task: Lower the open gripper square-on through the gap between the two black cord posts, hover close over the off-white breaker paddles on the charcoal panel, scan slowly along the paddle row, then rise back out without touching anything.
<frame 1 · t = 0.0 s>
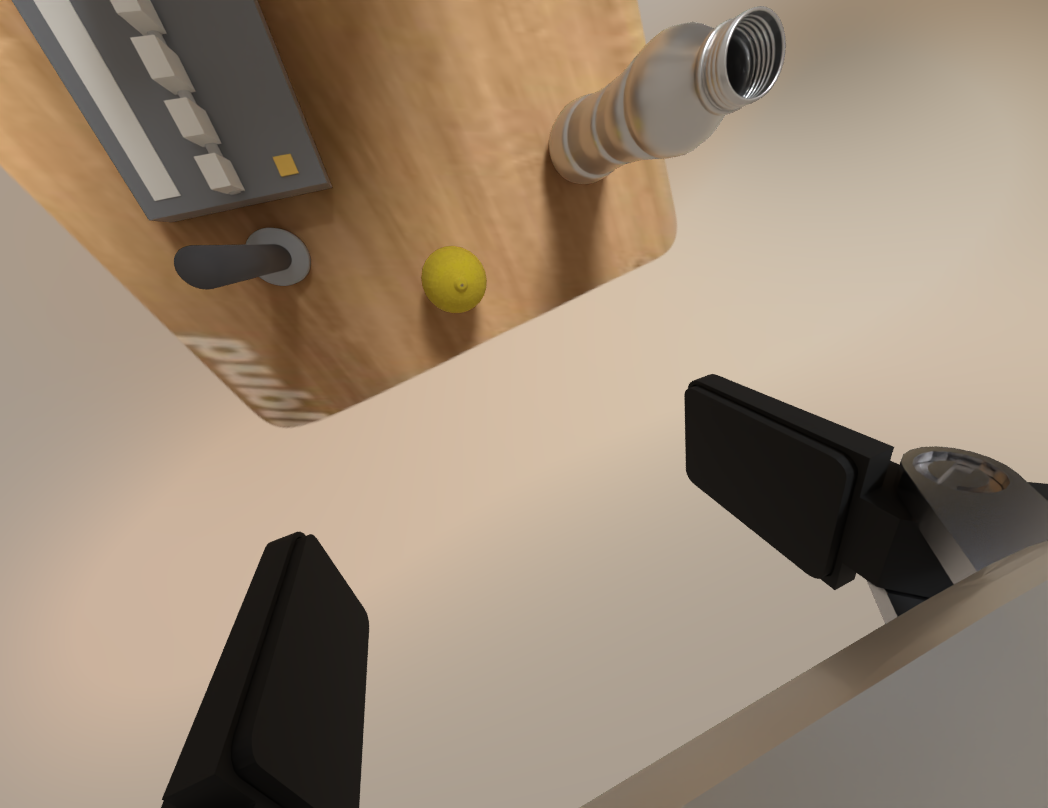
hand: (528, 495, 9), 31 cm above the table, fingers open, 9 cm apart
breaker panel: (200, 94, 26), on the table
plastic bottle: (573, 149, 35), on the table
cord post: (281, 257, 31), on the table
lemon: (447, 276, 36), on the table
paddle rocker: (165, 67, 22), point 5 cm above the table, hinge at 0.0°
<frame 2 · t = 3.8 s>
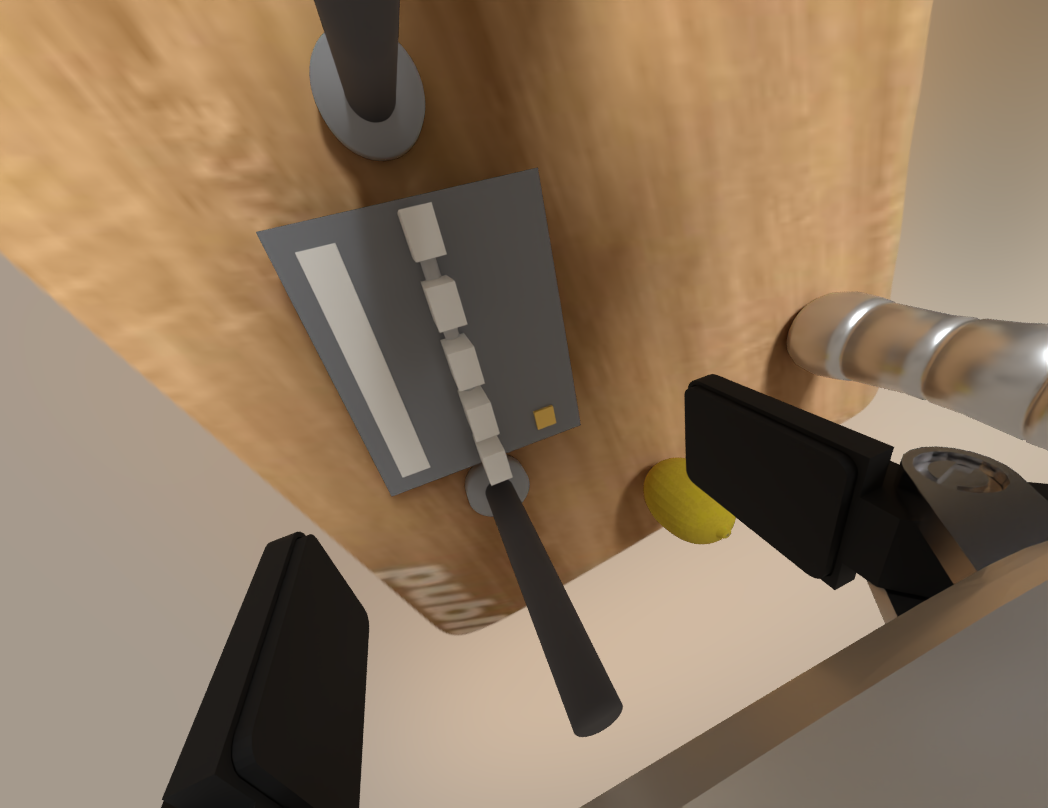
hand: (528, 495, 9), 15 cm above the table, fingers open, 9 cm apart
breaker panel: (448, 337, 21), on the table
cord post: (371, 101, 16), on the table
plastic bottle: (803, 327, 31), on the table
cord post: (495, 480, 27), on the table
lemon: (651, 467, 32), on the table
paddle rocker: (461, 360, 17), point 5 cm above the table, hinge at 0.0°
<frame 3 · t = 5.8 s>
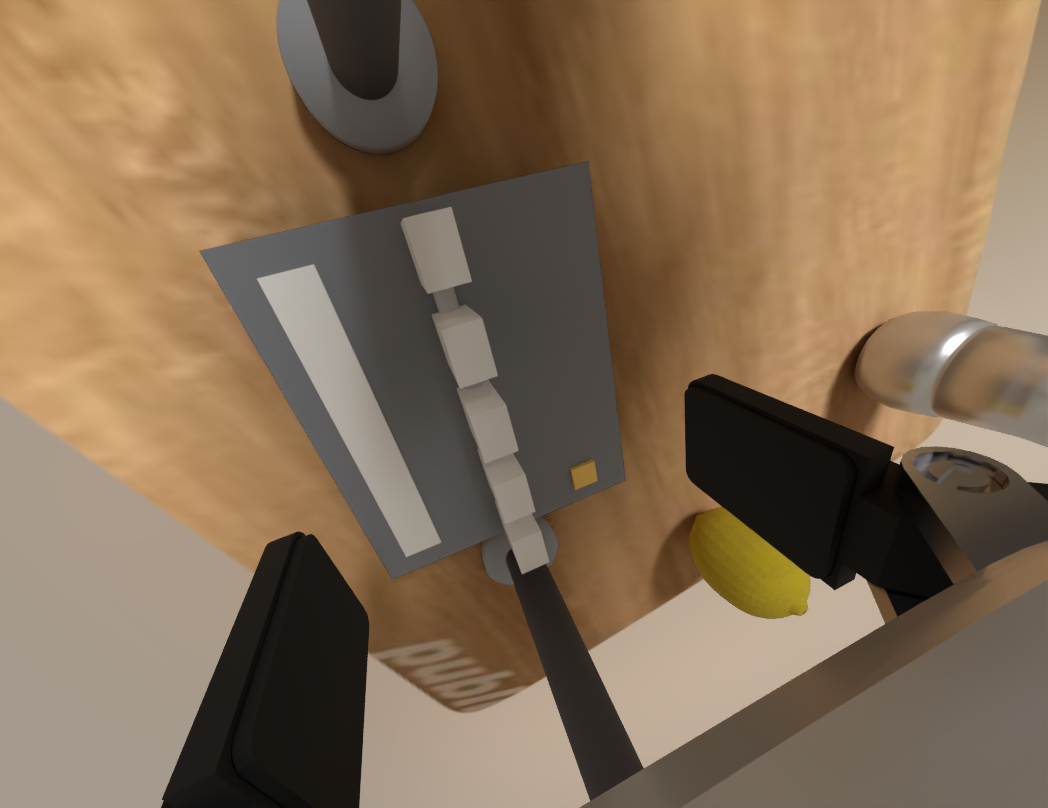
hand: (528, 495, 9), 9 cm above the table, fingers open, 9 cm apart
breaker panel: (463, 376, 17), on the table
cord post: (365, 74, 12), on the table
plastic bottle: (871, 351, 26), on the table
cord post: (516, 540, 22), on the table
lemon: (695, 514, 27), on the table
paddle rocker: (485, 417, 13), point 5 cm above the table, hinge at 0.0°
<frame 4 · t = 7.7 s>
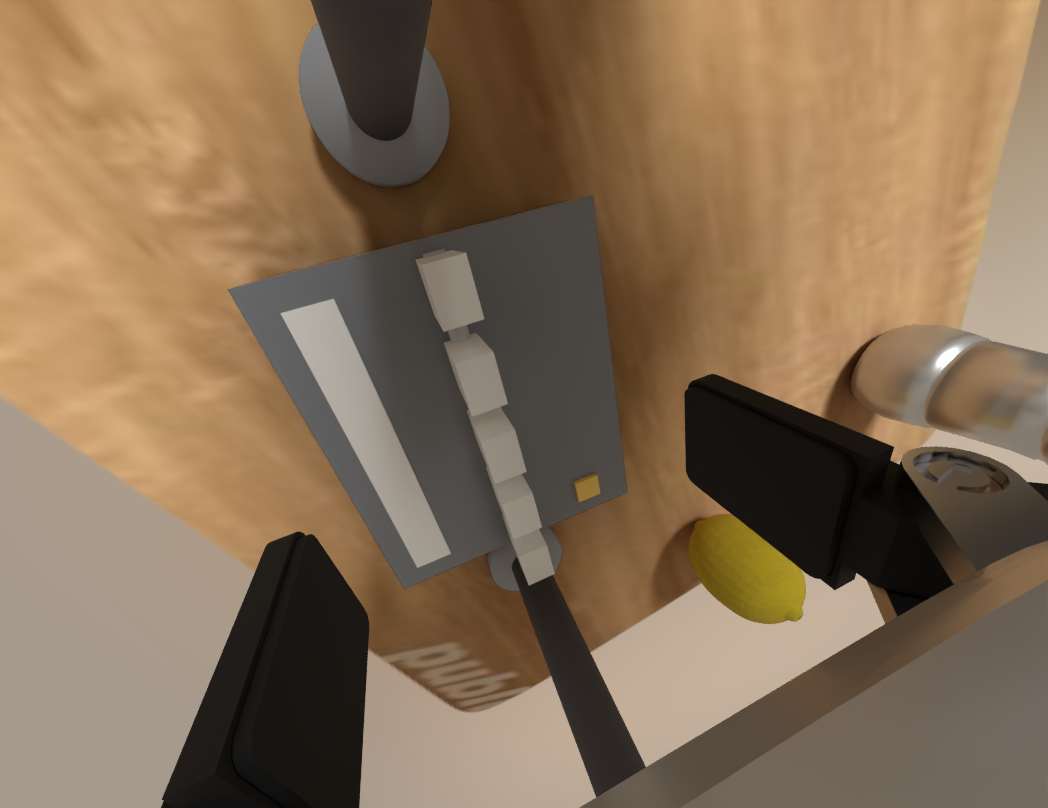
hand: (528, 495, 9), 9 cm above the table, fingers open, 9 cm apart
breaker panel: (471, 393, 18), on the table
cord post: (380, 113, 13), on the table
plastic bottle: (867, 362, 27), on the table
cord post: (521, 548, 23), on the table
lemon: (695, 521, 28), on the table
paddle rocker: (494, 438, 14), point 5 cm above the table, hinge at 0.0°
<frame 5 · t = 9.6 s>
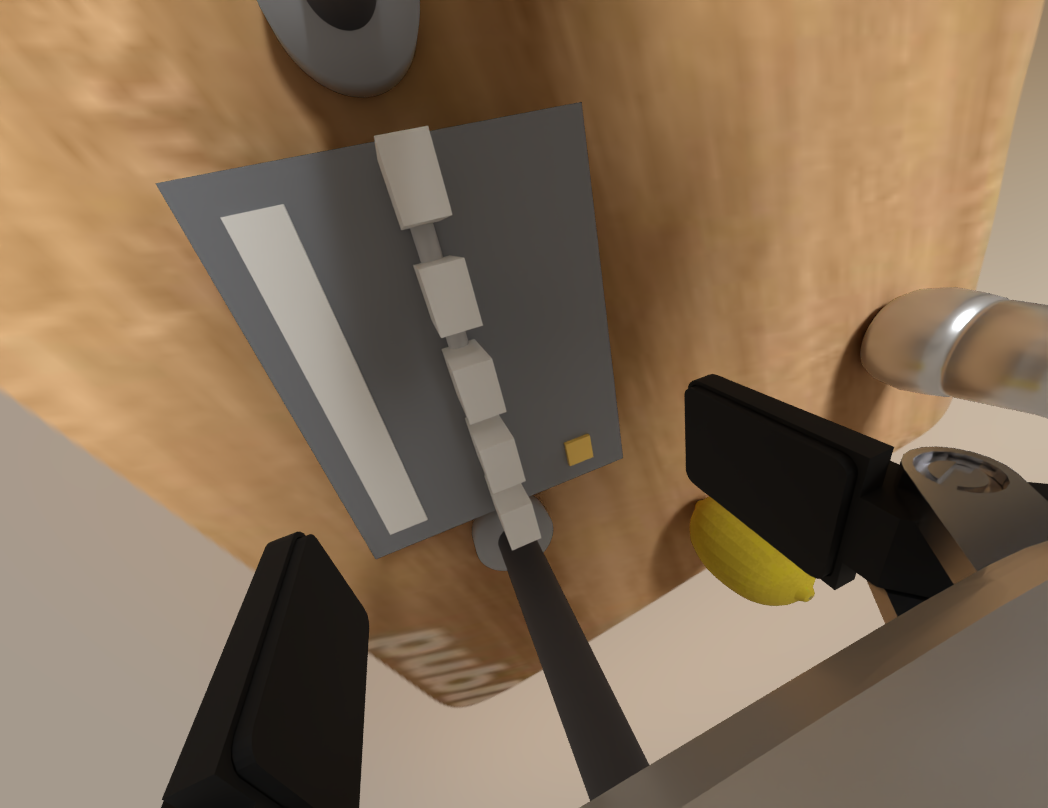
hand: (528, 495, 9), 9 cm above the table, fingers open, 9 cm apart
breaker panel: (451, 345, 16), on the table
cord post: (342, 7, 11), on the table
plastic bottle: (877, 332, 25), on the table
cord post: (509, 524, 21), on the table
lemon: (696, 501, 26), on the table
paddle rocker: (471, 378, 12), point 5 cm above the table, hinge at 0.0°
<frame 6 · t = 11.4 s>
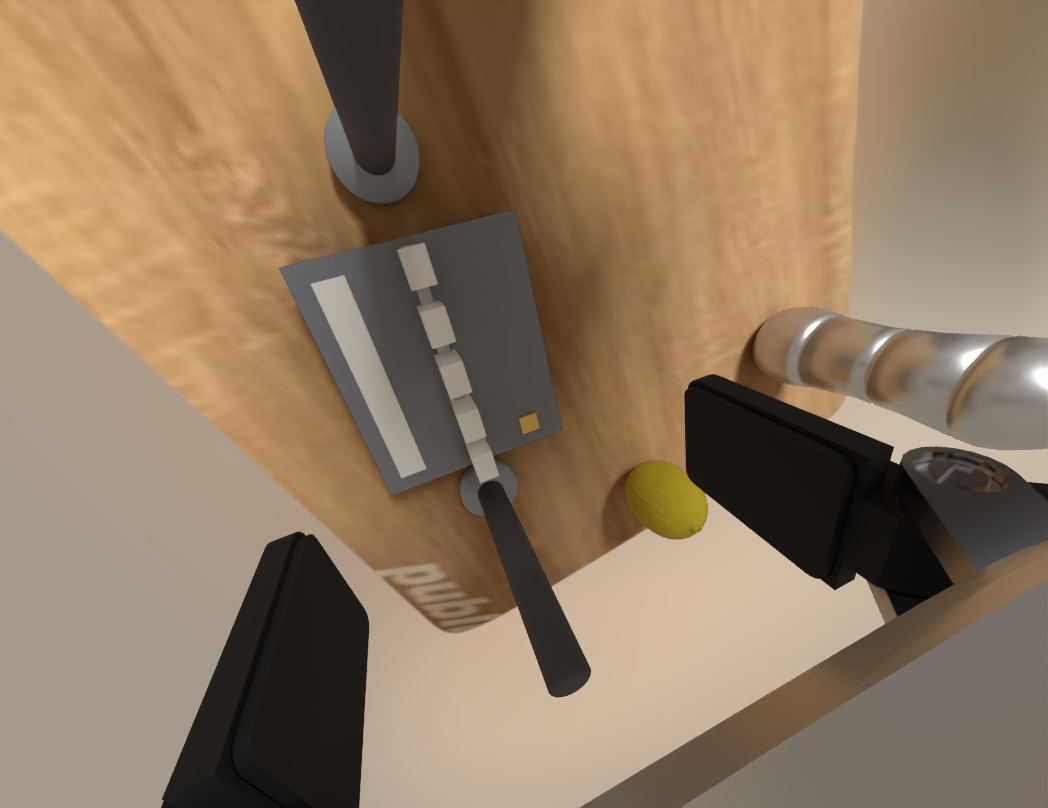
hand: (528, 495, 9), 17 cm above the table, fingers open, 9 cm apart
breaker panel: (442, 352, 24), on the table
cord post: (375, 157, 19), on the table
plastic bottle: (768, 339, 33), on the table
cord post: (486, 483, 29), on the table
lemon: (633, 470, 34), on the table
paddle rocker: (452, 372, 20), point 5 cm above the table, hinge at 0.0°
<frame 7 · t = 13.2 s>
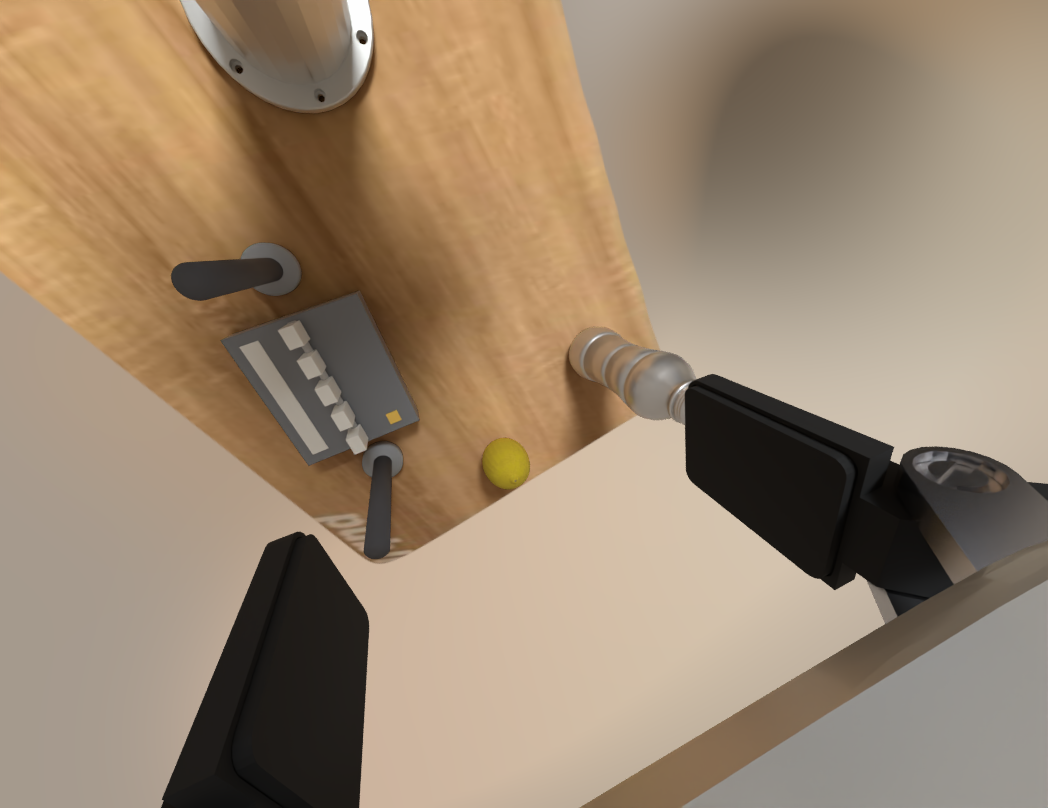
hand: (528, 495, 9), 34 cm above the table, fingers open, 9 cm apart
breaker panel: (335, 375, 39), on the table
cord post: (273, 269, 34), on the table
plastic bottle: (586, 348, 47), on the table
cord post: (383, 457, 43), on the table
lemon: (497, 446, 48), on the table
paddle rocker: (328, 390, 34), point 5 cm above the table, hinge at 0.0°
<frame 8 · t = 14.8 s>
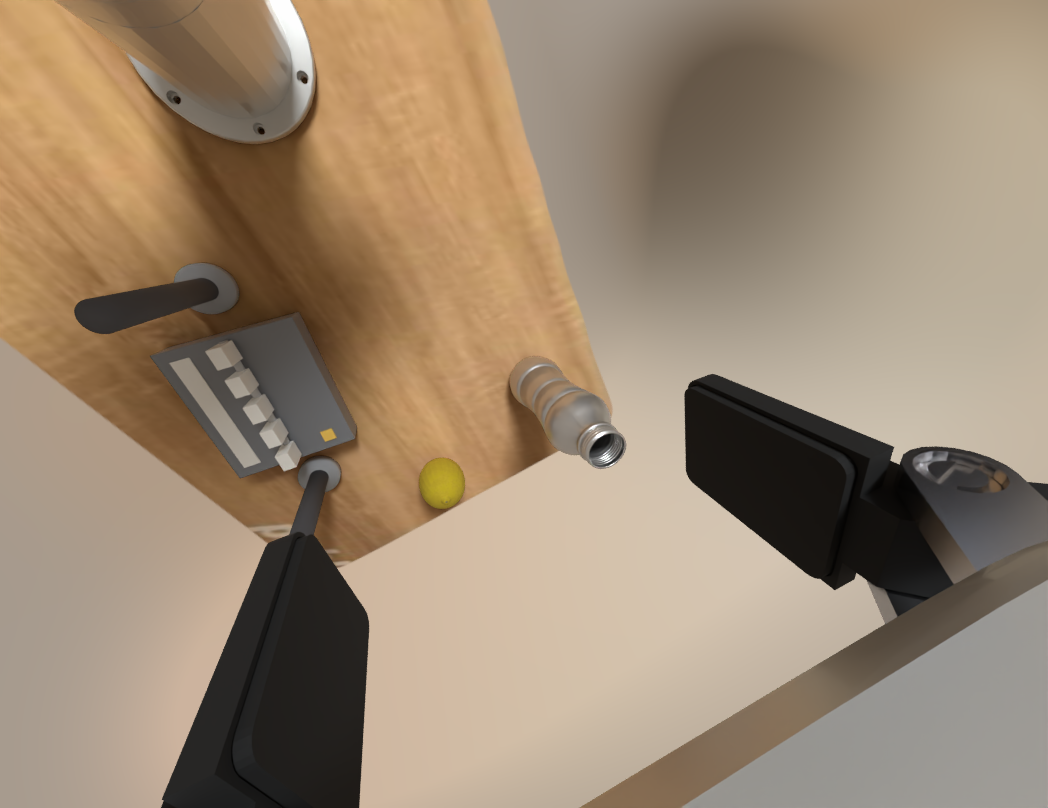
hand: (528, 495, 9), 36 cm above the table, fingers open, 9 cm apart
breaker panel: (272, 391, 39), on the table
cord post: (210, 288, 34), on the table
plastic bottle: (529, 375, 49), on the table
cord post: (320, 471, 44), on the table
lemon: (438, 464, 49), on the table
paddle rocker: (259, 408, 35), point 5 cm above the table, hinge at 0.0°
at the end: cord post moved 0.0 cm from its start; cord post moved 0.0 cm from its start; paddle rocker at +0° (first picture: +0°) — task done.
